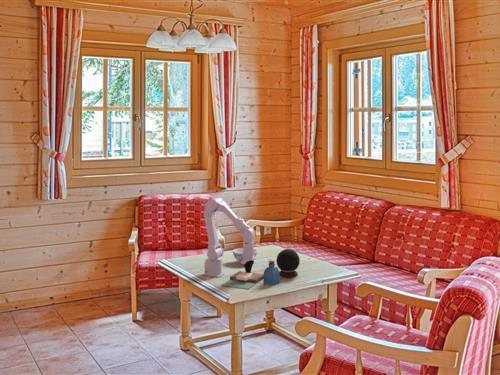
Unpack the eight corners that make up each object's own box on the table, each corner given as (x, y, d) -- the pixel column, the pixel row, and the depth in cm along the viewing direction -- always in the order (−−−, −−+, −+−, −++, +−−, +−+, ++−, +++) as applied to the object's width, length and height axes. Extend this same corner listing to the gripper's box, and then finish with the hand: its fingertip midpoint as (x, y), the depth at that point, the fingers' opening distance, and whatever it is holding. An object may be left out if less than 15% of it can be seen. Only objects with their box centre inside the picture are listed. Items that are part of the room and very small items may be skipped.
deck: (229, 280, 306) (229, 276, 306) (239, 274, 317) (239, 271, 316) (256, 283, 300) (256, 280, 299) (265, 277, 310) (265, 274, 310)
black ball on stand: (302, 277, 310) (302, 251, 308) (279, 279, 308) (279, 252, 306) (296, 271, 323) (296, 246, 321) (274, 272, 321) (274, 247, 319)
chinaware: (228, 264, 338) (228, 251, 337) (240, 258, 351) (240, 246, 350) (250, 267, 331) (250, 254, 330) (261, 261, 344) (261, 249, 343)
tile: (236, 279, 301) (236, 276, 301) (243, 274, 309) (243, 272, 309) (246, 280, 298) (246, 277, 298) (252, 276, 307) (252, 273, 306)
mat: (221, 285, 296) (221, 284, 296) (229, 280, 305) (229, 279, 305) (248, 289, 290) (248, 288, 289) (256, 283, 299) (256, 283, 299)
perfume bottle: (272, 285, 296) (272, 263, 295) (263, 283, 300) (263, 261, 299) (279, 283, 301) (279, 261, 299) (270, 280, 305) (270, 259, 303)
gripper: (249, 253, 299) (249, 278, 300) (259, 247, 312) (259, 271, 314) (237, 252, 301) (237, 276, 303) (248, 246, 315) (248, 269, 316)
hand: (248, 273), depth 309 cm, fingers closed
